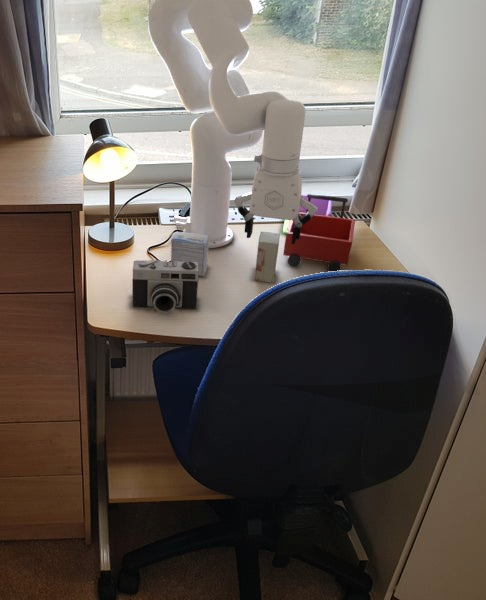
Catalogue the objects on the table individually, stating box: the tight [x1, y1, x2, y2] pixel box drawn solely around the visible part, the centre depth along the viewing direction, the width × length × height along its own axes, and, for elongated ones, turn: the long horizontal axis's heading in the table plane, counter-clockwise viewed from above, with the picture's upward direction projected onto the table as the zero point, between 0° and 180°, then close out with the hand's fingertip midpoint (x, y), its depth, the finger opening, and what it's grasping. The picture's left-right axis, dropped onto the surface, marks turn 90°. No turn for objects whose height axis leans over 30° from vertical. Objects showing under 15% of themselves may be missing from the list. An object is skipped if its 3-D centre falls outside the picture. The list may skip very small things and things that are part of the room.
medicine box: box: [170, 231, 210, 277], centre depth 145 cm, size 8×4×9 cm, turn 71°
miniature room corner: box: [282, 194, 333, 235], centre depth 163 cm, size 12×12×7 cm
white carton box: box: [254, 231, 281, 283], centre depth 142 cm, size 5×4×10 cm
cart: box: [282, 193, 356, 272], centre depth 149 cm, size 14×14×13 cm
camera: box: [131, 259, 199, 314], centre depth 132 cm, size 14×9×10 cm, turn 77°
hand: (271, 238), depth 139 cm, fingers open, 9 cm apart
